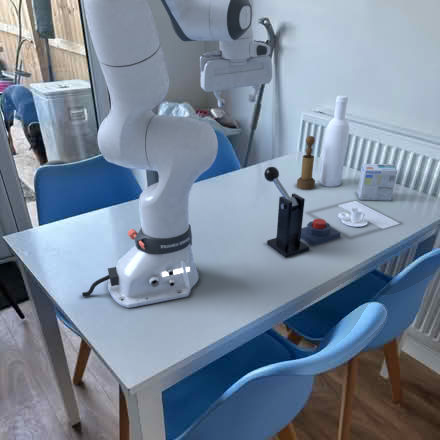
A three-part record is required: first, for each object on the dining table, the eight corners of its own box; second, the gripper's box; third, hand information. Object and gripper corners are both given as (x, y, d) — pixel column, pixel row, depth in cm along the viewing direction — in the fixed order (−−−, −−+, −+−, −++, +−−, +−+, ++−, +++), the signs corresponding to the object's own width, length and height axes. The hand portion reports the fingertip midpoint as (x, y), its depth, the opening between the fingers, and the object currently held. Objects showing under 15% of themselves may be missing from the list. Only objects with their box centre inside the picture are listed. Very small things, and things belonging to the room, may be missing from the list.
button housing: (312, 246, 120) (314, 235, 118) (295, 234, 126) (296, 224, 124) (339, 237, 124) (341, 227, 122) (321, 227, 129) (323, 216, 127)
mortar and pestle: (293, 184, 158) (298, 134, 148) (309, 182, 160) (314, 132, 150) (301, 190, 153) (306, 139, 143) (317, 188, 155) (324, 137, 144)
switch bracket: (266, 244, 121) (269, 195, 113) (289, 237, 124) (293, 189, 116) (285, 258, 115) (289, 207, 106) (309, 250, 118) (315, 200, 109)
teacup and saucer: (334, 219, 134) (335, 207, 131) (353, 213, 137) (355, 202, 134) (353, 230, 127) (355, 217, 125) (373, 224, 130) (375, 212, 128)
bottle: (339, 187, 155) (353, 99, 138) (318, 185, 157) (329, 98, 140) (341, 180, 161) (355, 94, 144) (320, 178, 163) (331, 93, 146)
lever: (259, 175, 118) (264, 164, 114) (271, 172, 119) (276, 162, 116) (285, 214, 112) (290, 204, 109) (297, 211, 114) (303, 201, 111)
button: (317, 230, 121) (318, 225, 120) (309, 225, 123) (310, 220, 122) (327, 227, 122) (328, 222, 121) (319, 223, 125) (320, 217, 124)
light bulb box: (387, 193, 150) (394, 163, 144) (391, 201, 144) (398, 170, 138) (356, 192, 151) (361, 162, 145) (359, 200, 145) (365, 169, 139)
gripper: (202, 55, 107) (205, 112, 116) (276, 46, 112) (273, 102, 121) (195, 51, 112) (198, 106, 120) (266, 42, 116) (264, 96, 125)
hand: (236, 104), depth 121 cm, fingers open, 8 cm apart
